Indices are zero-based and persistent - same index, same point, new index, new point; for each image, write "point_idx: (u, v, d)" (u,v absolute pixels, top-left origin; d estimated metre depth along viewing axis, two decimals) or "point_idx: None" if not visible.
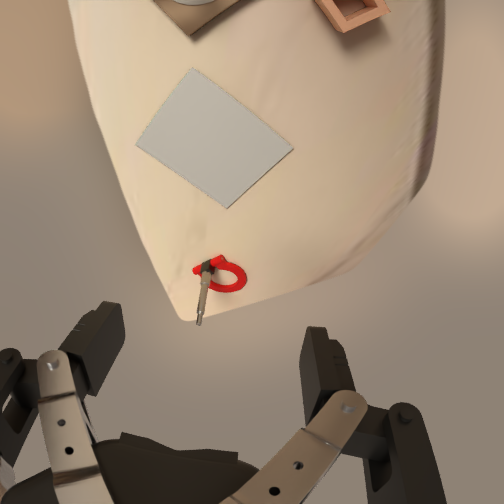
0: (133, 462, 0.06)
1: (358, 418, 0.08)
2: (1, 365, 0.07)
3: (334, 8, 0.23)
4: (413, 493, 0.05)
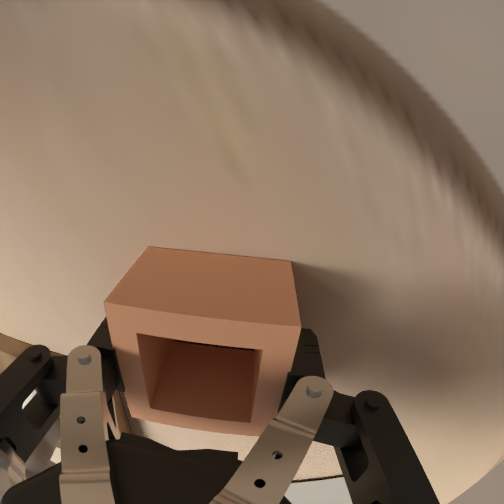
0: (133, 462, 0.06)
1: (322, 403, 0.08)
2: (28, 361, 0.08)
3: (204, 422, 0.11)
4: (394, 479, 0.06)
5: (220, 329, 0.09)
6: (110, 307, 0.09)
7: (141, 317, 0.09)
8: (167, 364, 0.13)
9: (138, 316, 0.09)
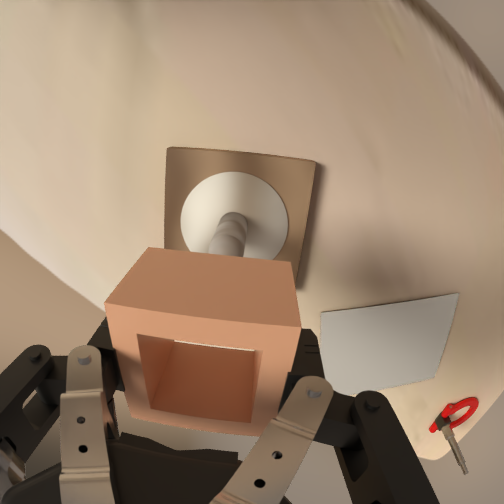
0: (133, 462, 0.06)
1: (322, 403, 0.08)
2: (28, 361, 0.08)
3: (204, 422, 0.11)
4: (394, 479, 0.06)
5: (220, 329, 0.09)
6: (110, 308, 0.09)
7: (141, 318, 0.09)
8: (167, 364, 0.13)
9: (138, 317, 0.09)
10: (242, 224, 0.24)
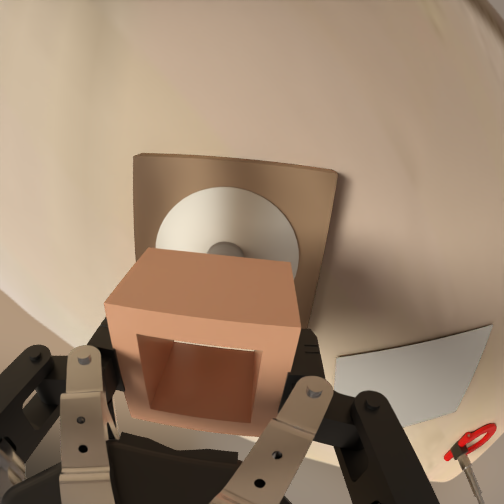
0: (133, 462, 0.06)
1: (322, 403, 0.08)
2: (28, 361, 0.08)
3: (204, 422, 0.11)
4: (394, 479, 0.06)
5: (220, 330, 0.09)
6: (110, 308, 0.09)
7: (141, 318, 0.09)
8: (167, 365, 0.13)
9: (138, 317, 0.09)
10: None
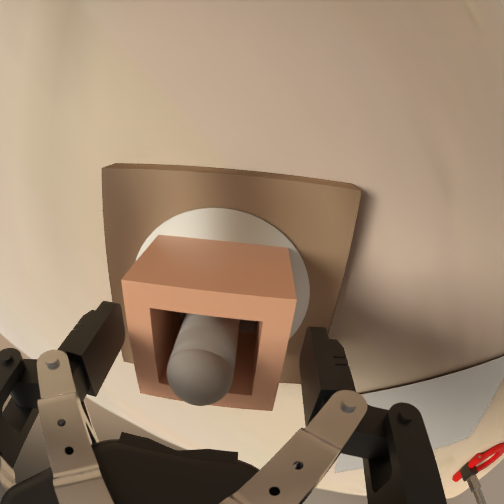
0: (133, 462, 0.06)
1: (358, 418, 0.08)
2: (1, 365, 0.07)
3: None
4: (413, 493, 0.05)
5: (225, 302, 0.10)
6: (127, 284, 0.10)
7: (155, 292, 0.10)
8: (174, 344, 0.15)
9: (152, 292, 0.10)
10: None
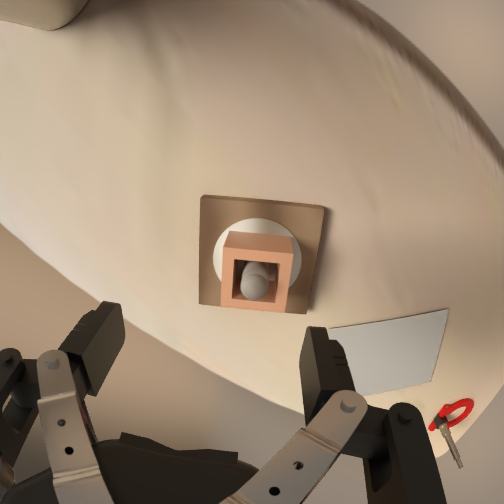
0: (133, 462, 0.06)
1: (358, 418, 0.08)
2: (1, 365, 0.07)
3: (255, 304, 0.29)
4: (413, 493, 0.05)
5: (265, 255, 0.27)
6: (225, 249, 0.27)
7: (237, 252, 0.27)
8: (235, 284, 0.31)
9: (236, 252, 0.27)
10: (265, 262, 0.30)
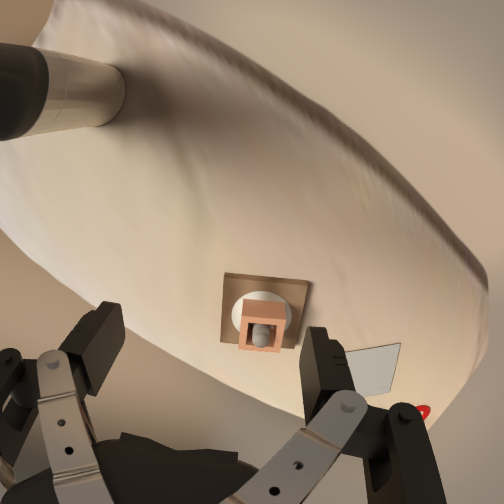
0: (133, 462, 0.06)
1: (358, 418, 0.08)
2: (1, 365, 0.07)
3: None
4: (413, 493, 0.05)
5: (268, 320, 0.41)
6: (242, 317, 0.41)
7: (250, 318, 0.41)
8: (247, 333, 0.46)
9: (249, 318, 0.41)
10: None
